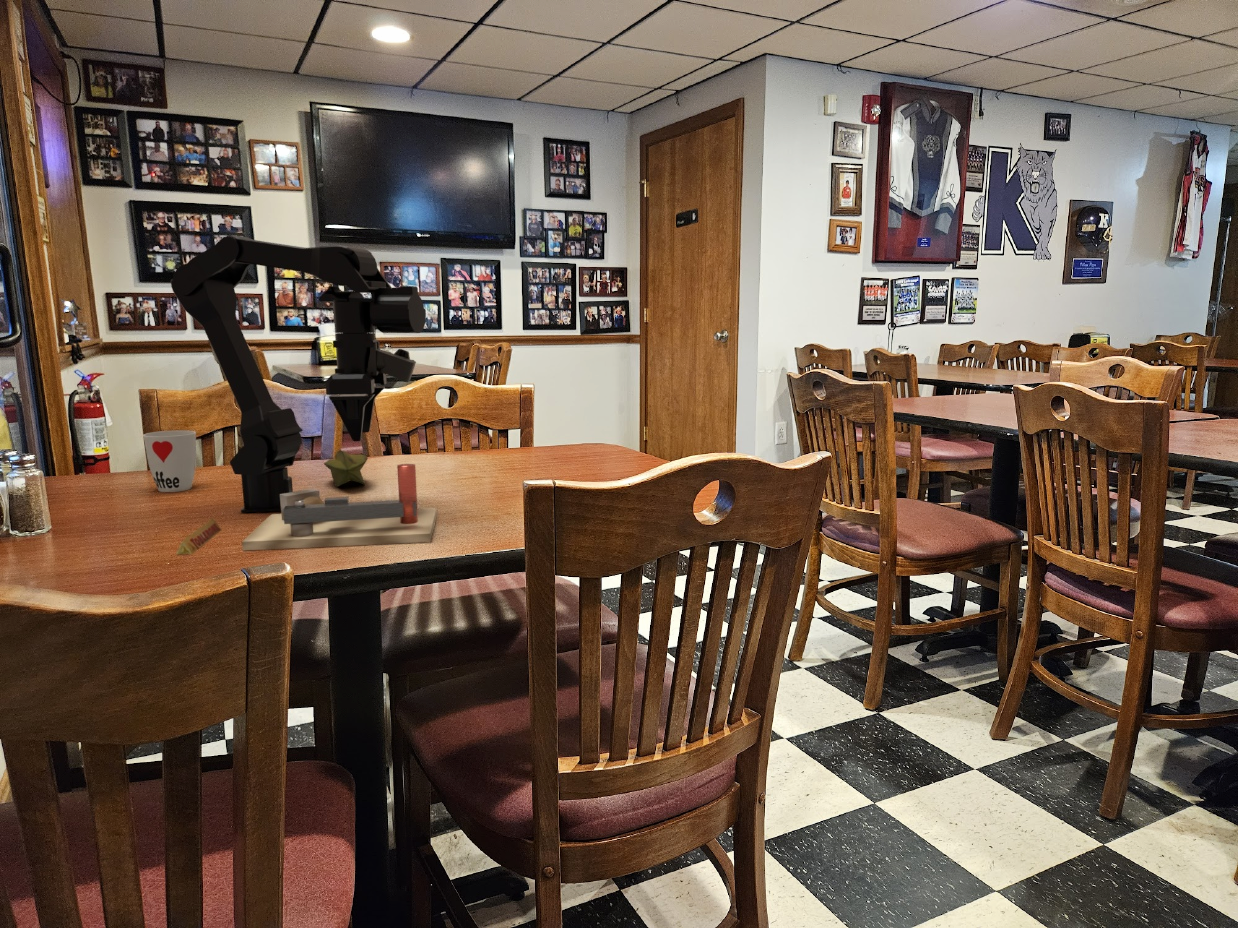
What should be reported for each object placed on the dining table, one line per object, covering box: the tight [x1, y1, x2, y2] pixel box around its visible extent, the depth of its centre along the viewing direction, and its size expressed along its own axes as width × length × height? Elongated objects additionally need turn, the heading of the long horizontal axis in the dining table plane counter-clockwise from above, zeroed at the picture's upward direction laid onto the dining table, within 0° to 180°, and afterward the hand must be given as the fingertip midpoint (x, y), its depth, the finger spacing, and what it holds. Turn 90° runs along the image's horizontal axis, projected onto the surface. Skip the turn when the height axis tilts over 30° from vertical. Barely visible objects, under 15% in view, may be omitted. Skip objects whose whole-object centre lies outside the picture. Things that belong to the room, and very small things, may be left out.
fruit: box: [323, 449, 369, 488], centre depth 145 cm, size 11×12×7 cm
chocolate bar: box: [175, 518, 223, 556], centre depth 110 cm, size 3×12×2 cm, turn 9°
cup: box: [142, 429, 197, 493], centre depth 142 cm, size 8×8×10 cm
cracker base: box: [241, 488, 438, 551], centre depth 114 cm, size 24×15×5 cm, turn 99°
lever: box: [283, 463, 418, 524], centre depth 110 cm, size 17×4×8 cm, turn 104°
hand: (361, 436), depth 123 cm, fingers open, 9 cm apart
